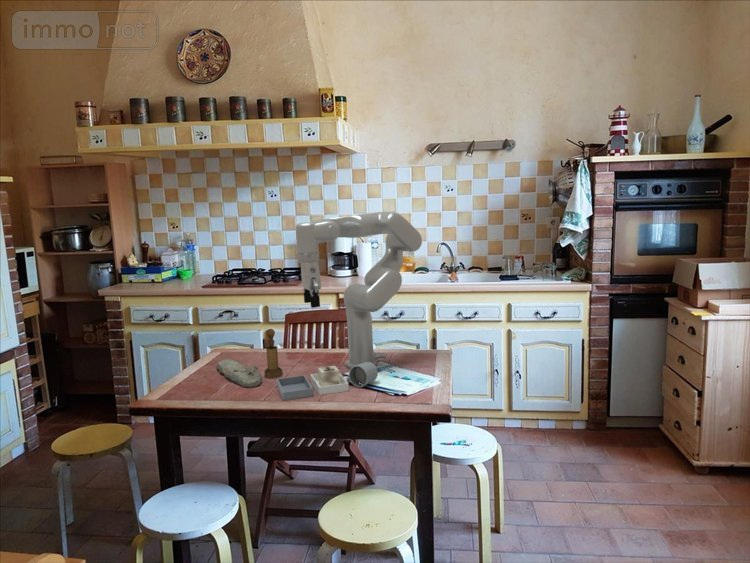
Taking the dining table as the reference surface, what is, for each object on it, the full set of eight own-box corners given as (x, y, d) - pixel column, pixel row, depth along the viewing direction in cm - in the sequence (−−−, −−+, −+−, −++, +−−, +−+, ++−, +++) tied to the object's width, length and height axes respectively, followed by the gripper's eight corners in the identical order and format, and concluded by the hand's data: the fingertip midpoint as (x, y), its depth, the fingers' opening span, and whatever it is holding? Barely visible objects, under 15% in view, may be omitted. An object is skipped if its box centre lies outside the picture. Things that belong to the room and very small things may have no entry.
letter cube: (335, 381, 197) (334, 365, 196) (339, 387, 191) (338, 370, 190) (319, 384, 195) (318, 367, 194) (322, 389, 190) (321, 372, 189)
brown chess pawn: (278, 379, 203) (275, 331, 201) (261, 379, 205) (258, 331, 202) (285, 373, 210) (281, 327, 207) (268, 373, 211) (265, 327, 208)
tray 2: (338, 378, 202) (337, 370, 201) (348, 391, 188) (348, 383, 187) (310, 382, 199) (310, 374, 198) (319, 396, 185) (319, 387, 184)
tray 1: (305, 383, 198) (304, 375, 198) (313, 397, 184) (313, 388, 184) (277, 387, 195) (276, 378, 195) (283, 401, 181) (282, 392, 181)
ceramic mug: (379, 381, 197) (378, 360, 196) (367, 389, 190) (366, 367, 189) (354, 378, 202) (353, 357, 201) (341, 385, 195) (340, 363, 194)
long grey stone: (235, 366, 227) (211, 373, 222) (233, 354, 226) (209, 360, 221) (270, 384, 198) (243, 392, 193) (267, 369, 197) (241, 377, 192)
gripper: (325, 258, 191) (328, 307, 194) (312, 254, 207) (316, 299, 210) (303, 261, 189) (307, 310, 192) (292, 256, 205) (296, 301, 208)
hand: (312, 304), depth 201 cm, fingers open, 9 cm apart
